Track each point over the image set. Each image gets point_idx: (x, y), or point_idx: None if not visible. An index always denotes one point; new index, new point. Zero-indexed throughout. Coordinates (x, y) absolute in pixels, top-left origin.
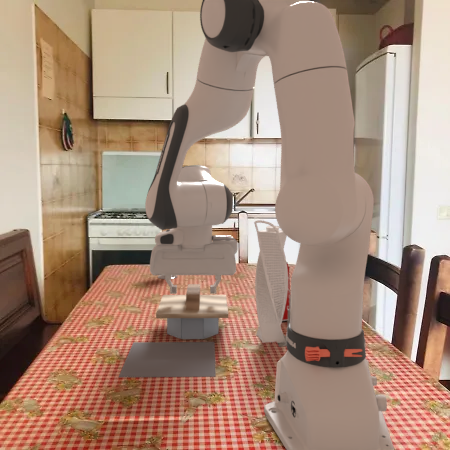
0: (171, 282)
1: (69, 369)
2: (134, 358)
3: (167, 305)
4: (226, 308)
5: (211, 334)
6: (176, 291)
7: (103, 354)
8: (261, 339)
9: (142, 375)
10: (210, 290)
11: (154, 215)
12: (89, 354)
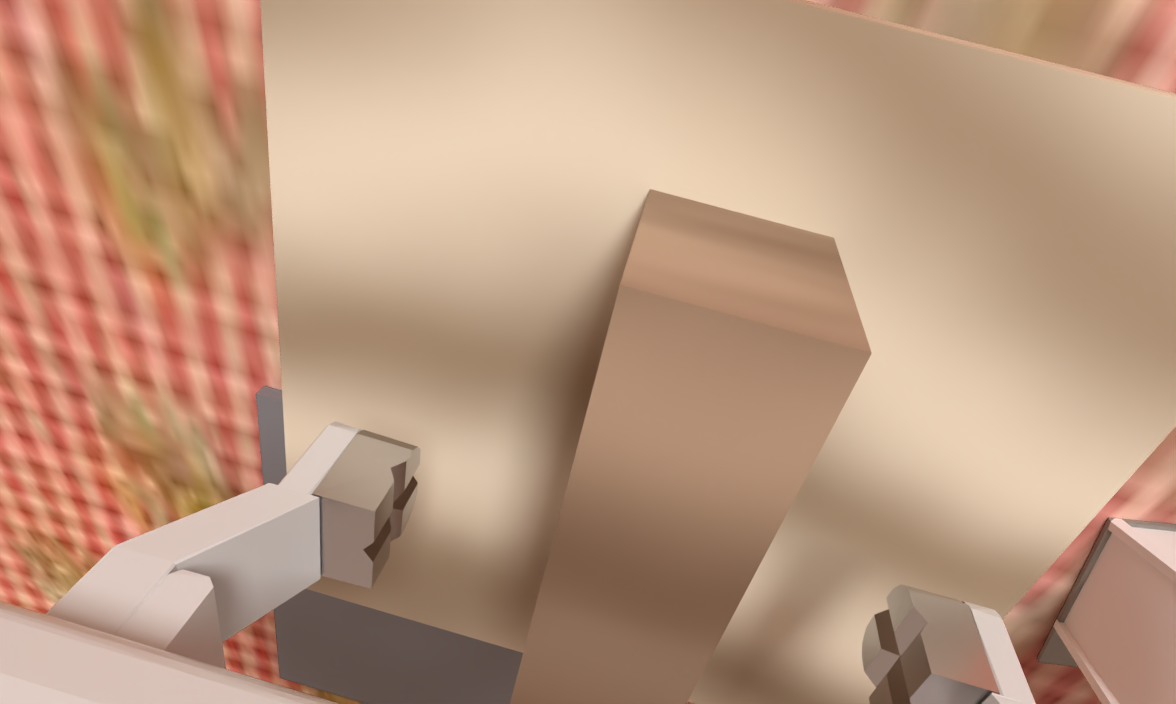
0: (266, 548)
1: (72, 546)
2: None
3: (369, 420)
4: None
5: None
6: (409, 482)
7: (146, 458)
8: (1084, 613)
9: (363, 694)
10: (883, 655)
11: None
12: (78, 437)
